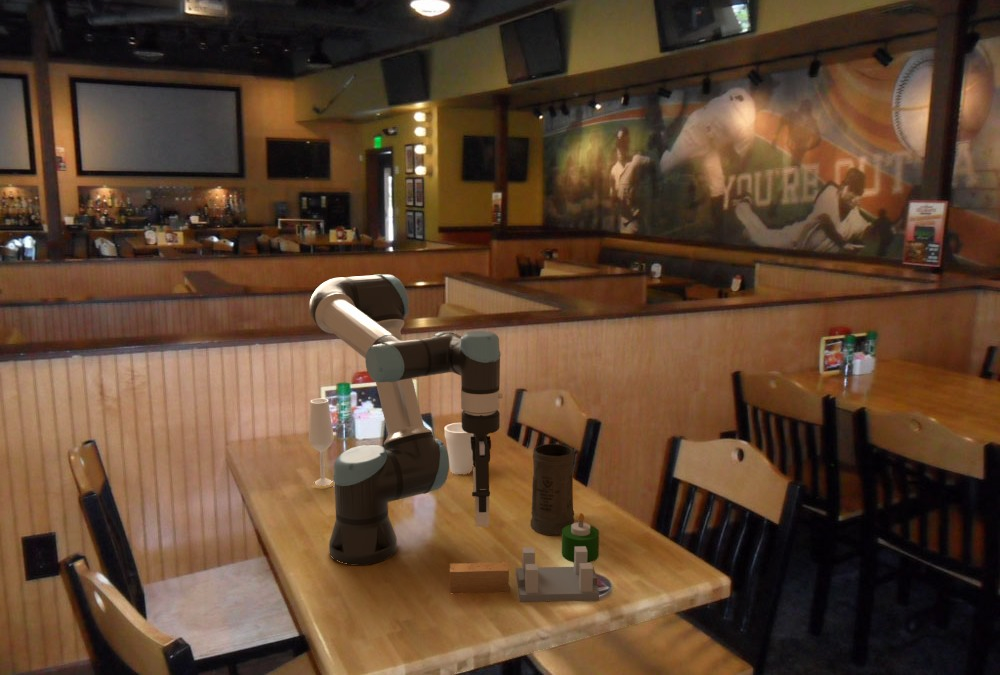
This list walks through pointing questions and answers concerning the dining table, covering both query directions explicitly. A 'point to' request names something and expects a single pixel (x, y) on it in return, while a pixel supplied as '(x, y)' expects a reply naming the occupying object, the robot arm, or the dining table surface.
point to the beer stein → (552, 488)
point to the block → (479, 578)
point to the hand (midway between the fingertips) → (480, 511)
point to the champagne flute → (320, 433)
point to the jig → (557, 579)
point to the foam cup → (459, 449)
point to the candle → (580, 539)
